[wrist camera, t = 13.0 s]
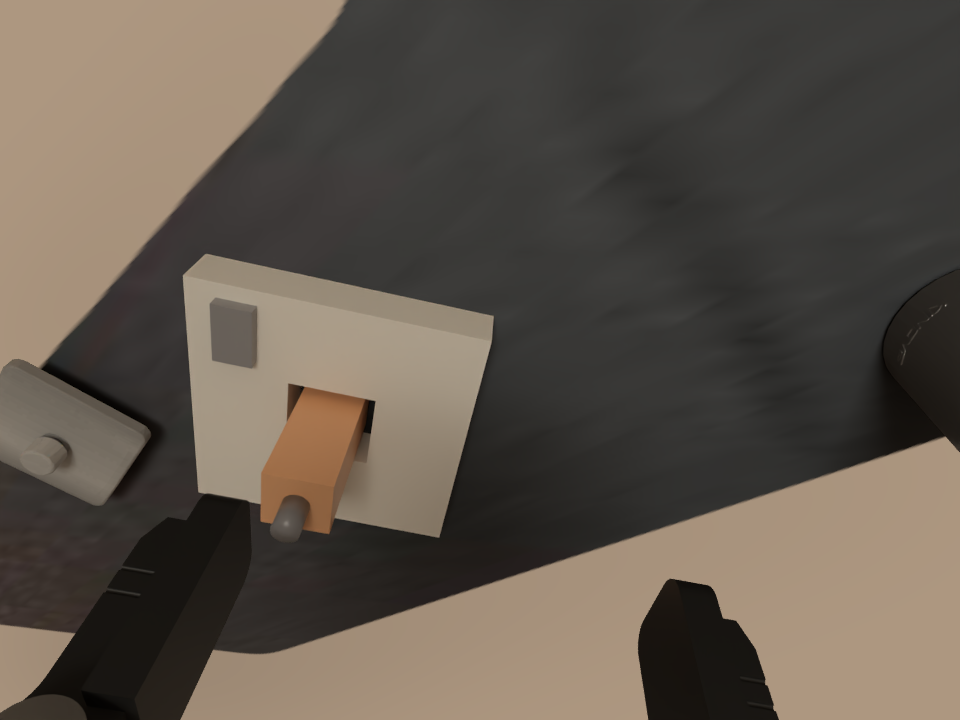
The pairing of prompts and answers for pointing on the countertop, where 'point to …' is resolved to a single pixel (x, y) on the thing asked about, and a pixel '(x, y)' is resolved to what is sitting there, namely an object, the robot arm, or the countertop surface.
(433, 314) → the socket
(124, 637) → the robot arm
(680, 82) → the countertop surface
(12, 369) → the light switch
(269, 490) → the plug
